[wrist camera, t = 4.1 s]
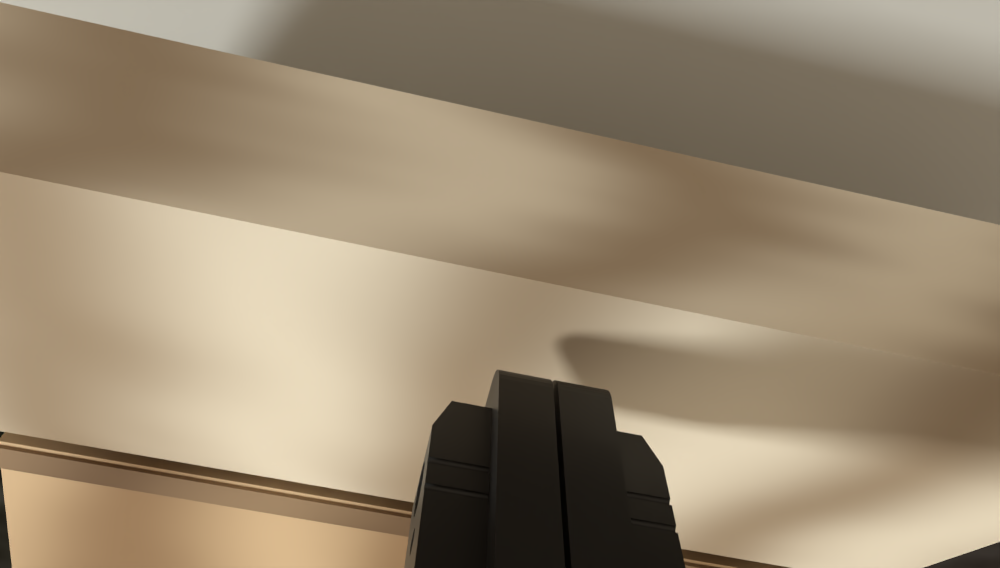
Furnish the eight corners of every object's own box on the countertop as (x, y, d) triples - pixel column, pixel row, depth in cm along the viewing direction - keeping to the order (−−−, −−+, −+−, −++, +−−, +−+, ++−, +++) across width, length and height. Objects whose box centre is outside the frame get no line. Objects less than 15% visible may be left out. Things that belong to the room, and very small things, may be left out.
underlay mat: (1161, 26, 16) (1178, 33, 16) (719, 734, 28) (722, 748, 28) (-34, -277, 14) (-51, -278, 13) (45, 633, 26) (37, 647, 25)
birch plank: (1242, 278, 12) (1307, 437, 11) (866, 479, 21) (878, 582, 20) (-182, -39, 10) (-306, 109, 9) (41, 326, 19) (-7, 429, 18)
